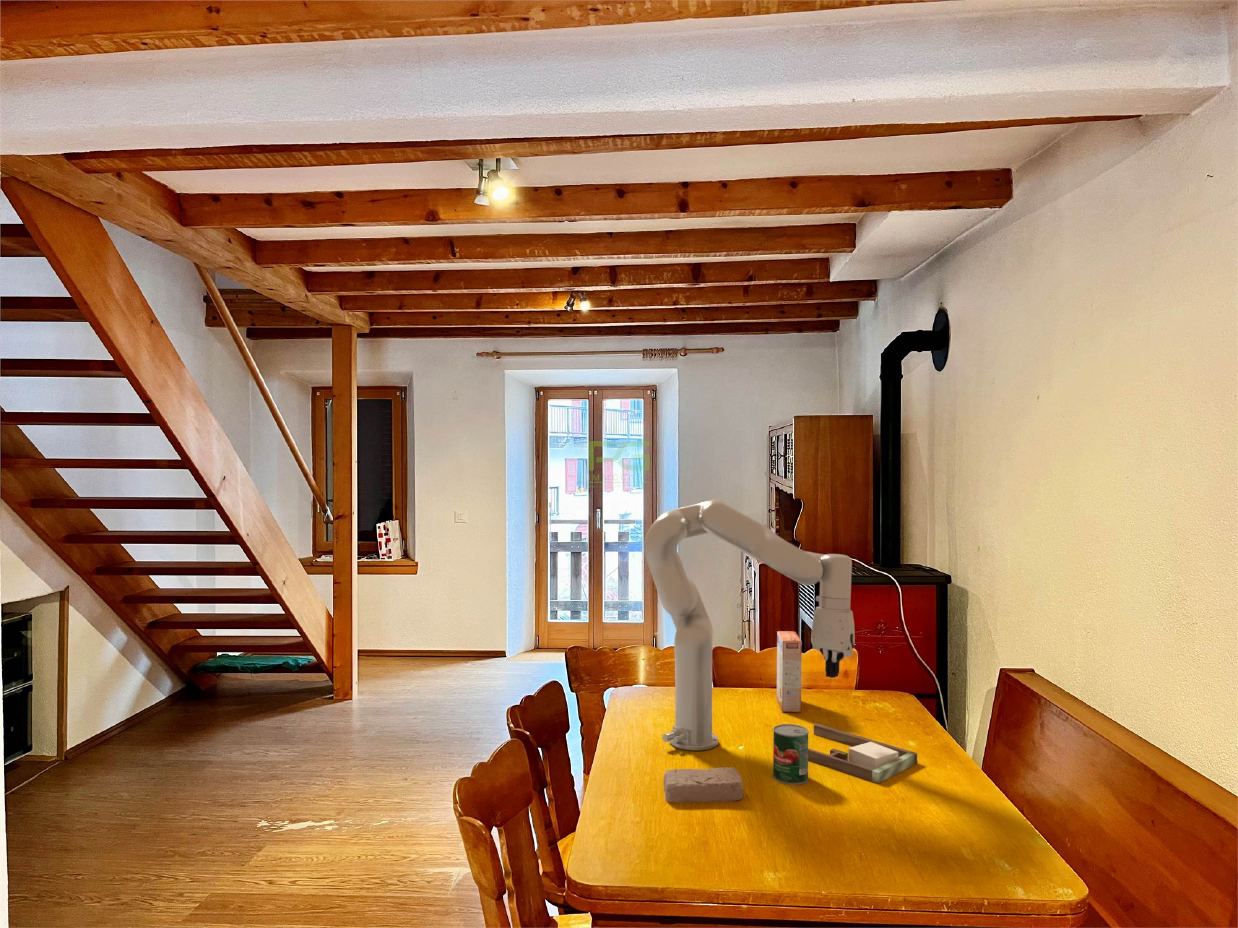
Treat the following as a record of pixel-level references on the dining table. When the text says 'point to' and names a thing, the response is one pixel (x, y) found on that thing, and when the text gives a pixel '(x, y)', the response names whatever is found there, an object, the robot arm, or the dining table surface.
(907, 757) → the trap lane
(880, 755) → the cream block
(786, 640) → the cracker box
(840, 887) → the dining table surface
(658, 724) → the dining table surface
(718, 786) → the brick
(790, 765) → the canned tomato
